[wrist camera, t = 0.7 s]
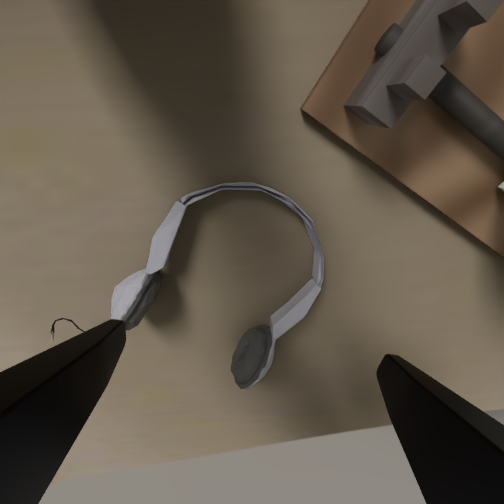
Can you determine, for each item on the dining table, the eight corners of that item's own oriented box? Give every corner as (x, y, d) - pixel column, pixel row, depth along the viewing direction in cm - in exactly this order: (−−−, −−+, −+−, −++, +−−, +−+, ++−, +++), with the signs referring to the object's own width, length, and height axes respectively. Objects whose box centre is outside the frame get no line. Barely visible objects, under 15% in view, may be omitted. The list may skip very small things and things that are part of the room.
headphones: (228, 391, 30) (348, 237, 25) (228, 444, 25) (380, 260, 20) (64, 319, 26) (170, 116, 21) (20, 363, 20) (151, 104, 16)
